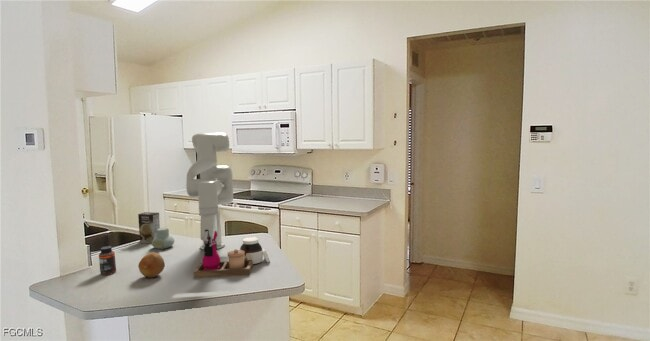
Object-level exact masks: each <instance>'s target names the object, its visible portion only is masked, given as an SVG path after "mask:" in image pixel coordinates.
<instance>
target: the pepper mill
mask: <svg viewBox="0 0 650 341" xmlns="http://www.w3.org/2000/svg"><path fill="white" fill-rule="evenodd" d="M216 237H217V231H215V234H214V238H213V239H212V247H213V256H205V254H203V257H202V262H201V263H202V264H203V266H204V267H205V268H204V270H220V268H219V266H218V265H219V264H220V262H221V257H220V255H219V253H218V252H217V250H216V243H217V242H216ZM208 239H210V237H208ZM209 243H210V241H209Z"/></svg>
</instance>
